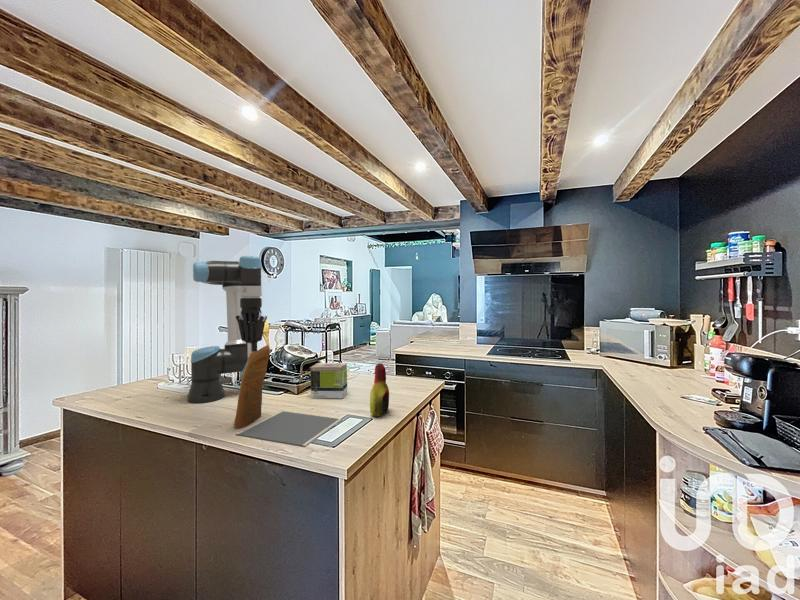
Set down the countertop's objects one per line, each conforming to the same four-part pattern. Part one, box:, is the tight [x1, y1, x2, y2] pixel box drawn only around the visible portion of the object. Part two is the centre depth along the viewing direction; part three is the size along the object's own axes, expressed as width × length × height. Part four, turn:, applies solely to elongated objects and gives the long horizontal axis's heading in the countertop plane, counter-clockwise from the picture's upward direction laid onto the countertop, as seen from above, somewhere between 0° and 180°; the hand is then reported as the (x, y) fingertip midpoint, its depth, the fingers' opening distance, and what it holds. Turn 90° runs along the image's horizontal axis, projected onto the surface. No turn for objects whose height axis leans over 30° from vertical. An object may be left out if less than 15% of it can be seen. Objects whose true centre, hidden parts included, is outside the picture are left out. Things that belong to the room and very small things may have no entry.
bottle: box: [369, 362, 390, 417], centre depth 141 cm, size 12×6×20 cm, turn 156°
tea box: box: [310, 362, 348, 399], centre depth 165 cm, size 15×10×15 cm, turn 84°
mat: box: [235, 410, 343, 448], centre depth 127 cm, size 28×24×1 cm
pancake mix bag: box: [233, 344, 271, 429], centre depth 132 cm, size 7×19×28 cm, turn 172°
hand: (252, 359), depth 132 cm, fingers closed
